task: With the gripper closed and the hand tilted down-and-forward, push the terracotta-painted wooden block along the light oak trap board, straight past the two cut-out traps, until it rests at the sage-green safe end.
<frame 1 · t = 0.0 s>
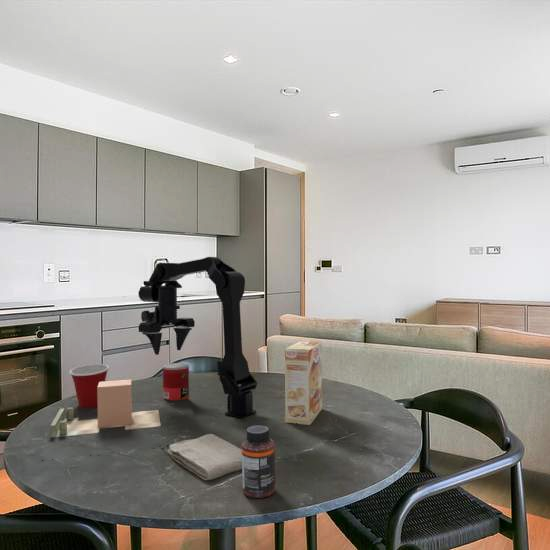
hand: (168, 352, 141), 15 cm above the table, tool pointing down, fingers open, 9 cm apart
plastic cup: (89, 409, 132), on the table
coffeecake box: (304, 416, 123), on the table
washcloth: (209, 462, 95), on the table
trap board: (109, 427, 115), on the table
supplement bottle: (258, 492, 81), on the table
canned food: (176, 401, 139), on the table
block: (115, 421, 116), point 1 cm above the table, touching trap board
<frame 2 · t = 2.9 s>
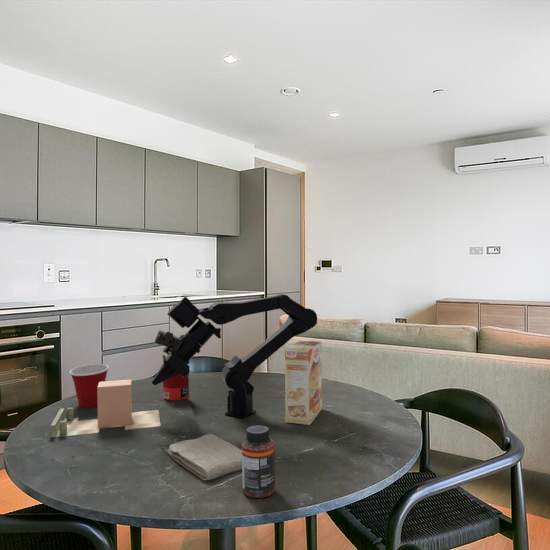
hand: (153, 383, 119), 10 cm above the table, tool tilted 45°, fingers closed
coffeecake box: (304, 416, 123), on the table, touching arm
everything else where it was.
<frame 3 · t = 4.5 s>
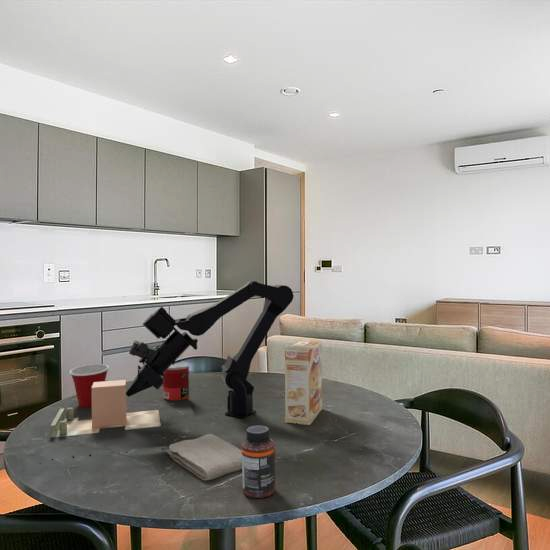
hand: (126, 395, 117), 8 cm above the table, tool tilted 45°, fingers closed, pressing on block
coffeecake box: (304, 416, 123), on the table
block: (109, 422, 115), point 1 cm above the table, touching gripper
everything else where it was.
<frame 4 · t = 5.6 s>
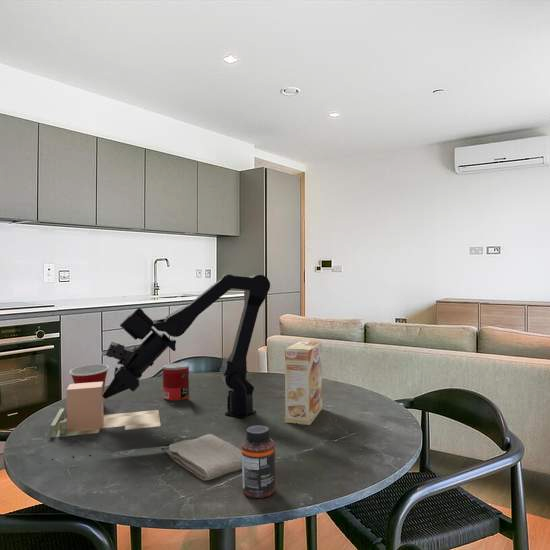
hand: (103, 397, 115), 8 cm above the table, tool tilted 45°, fingers closed
block: (85, 424, 114), point 1 cm above the table, touching trap board
everything else where it was.
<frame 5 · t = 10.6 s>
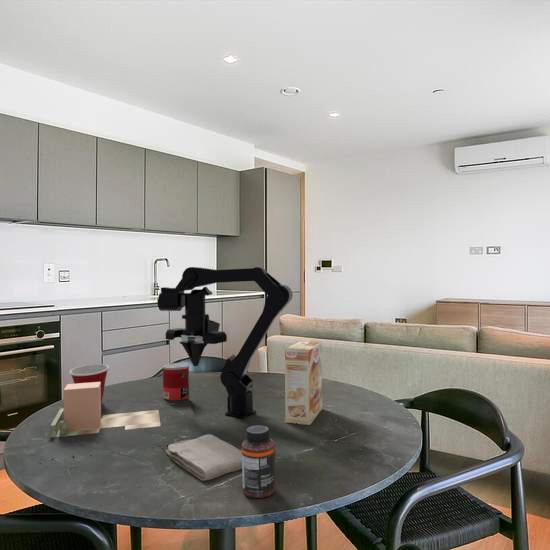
hand: (195, 365, 128), 13 cm above the table, tool pointing down, fingers closed
nothing on the table moved.
at the end: block 1.6 cm from the target spot, point 1.2 cm above the table; block tilted 0°; block touching trap board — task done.
